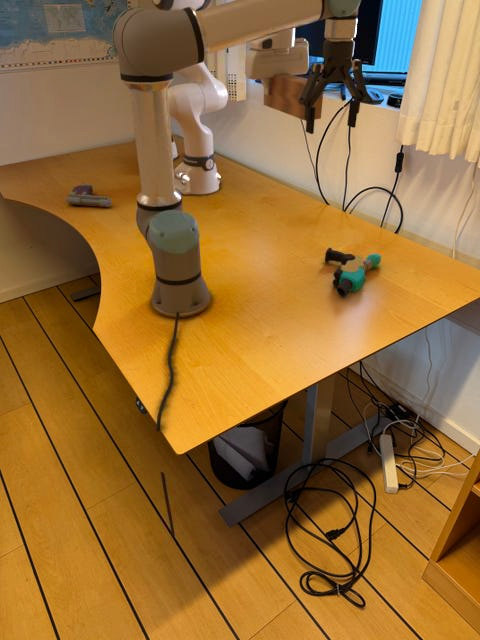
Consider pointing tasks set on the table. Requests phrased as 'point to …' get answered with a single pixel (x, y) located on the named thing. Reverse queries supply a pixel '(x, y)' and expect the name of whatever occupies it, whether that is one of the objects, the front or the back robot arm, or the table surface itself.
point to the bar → (289, 96)
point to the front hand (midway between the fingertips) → (330, 129)
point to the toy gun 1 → (87, 197)
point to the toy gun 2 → (350, 270)
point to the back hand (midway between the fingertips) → (276, 93)
